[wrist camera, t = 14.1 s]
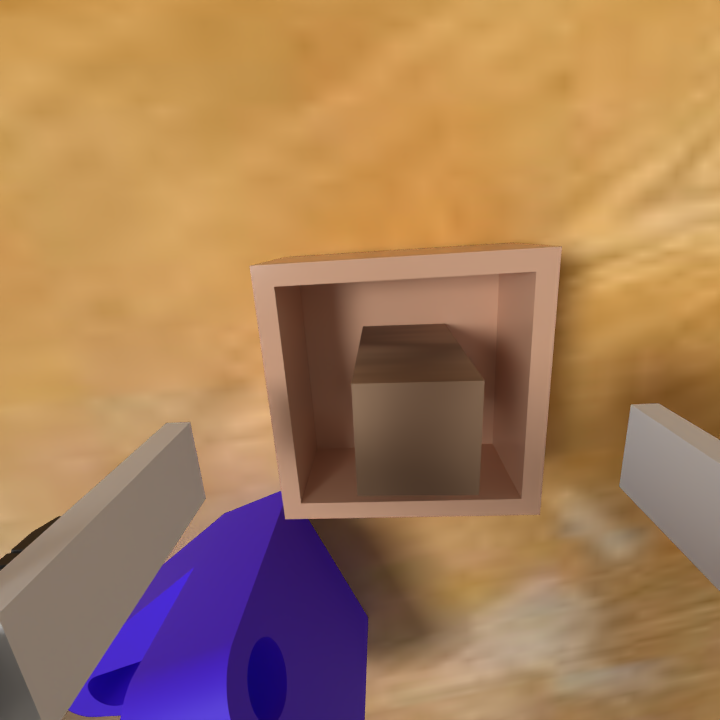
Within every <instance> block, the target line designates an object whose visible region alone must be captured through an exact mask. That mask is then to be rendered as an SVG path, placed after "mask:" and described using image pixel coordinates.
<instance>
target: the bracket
mask: <svg viewBox="0 0 720 720" xmlns="http://www.w3.org/2000/svg"><path fill="white" fill-rule="evenodd" d="M367 638H368V616H367V615H366V613H365V612H364V610H363V608H362V607H361V605H360V603H359V602H358V600H357V598H356V597H355V595H354V593H353V592H352V590H351V589H350V587H349V585H348V584H347V582H346V580H345V579H344V577H343V575H342V574H341V572H340V570H339V569H338V567H337V566H336V564H335V562H334V561H333V559H332V557H331V556H330V554H329V552H328V551H327V549H326V547H325V546H324V544H323V542H322V541H321V539H320V538H319V536H318V534H317V533H316V531H315V529H314V528H313V526H312V524H311V523H310V521H309V519H285V514H284V507H283V500H282V493H281V491H279V492H277V493H274V494H272V495H269V496H267V497H264V498H262V499H259V500H257V501H254V502H252V503H249V504H247V505H244V506H242V507H239V508H237V509H234V510H232V511H229V512H227V513H224V514H223V515H222V516H221V517H220V518H218V519H217V520H216V521H215V522H214V523H212V524H211V525H210V526H209V527H208V528H206V529H205V530H204V531H203V532H202V533H200V534H199V535H198V536H197V537H196V538H194V539H193V540H192V541H191V542H190V543H188V544H187V545H186V546H185V547H184V548H182V549H181V550H180V551H179V552H178V553H177V554H175V555H174V556H173V557H172V558H171V559H169V560H168V561H167V562H166V563H165V564H163V565H162V566H161V568H160V570H159V571H158V573H157V574H156V576H155V577H154V579H153V580H152V582H151V583H150V585H149V586H148V588H147V589H146V591H145V593H144V594H143V596H142V597H141V599H140V600H139V602H138V603H137V605H136V606H135V608H134V609H133V611H132V613H131V614H130V616H129V617H128V619H127V620H126V622H125V623H124V625H123V626H122V628H121V629H120V631H119V632H118V634H117V636H116V637H115V639H114V640H113V642H112V643H111V645H110V646H109V648H108V649H107V651H106V652H105V654H104V656H103V657H102V659H101V660H100V662H99V663H98V665H97V666H96V668H95V669H94V671H93V672H92V674H91V675H90V677H89V679H88V680H87V682H86V683H85V685H84V686H83V688H82V689H81V691H80V692H79V694H78V695H77V697H76V699H75V700H74V702H73V703H72V705H71V706H70V708H69V709H68V710H69V711H71V712H73V713H75V714H78V715H81V716H86V717H101V716H119V715H121V719H120V720H365V694H366V666H367Z"/></svg>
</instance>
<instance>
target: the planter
mask: <svg viewBox="0 0 720 720" xmlns="http://www.w3.org/2000/svg"><path fill="white" fill-rule="evenodd" d="M561 250H562V247H561V246H548V245H535V244H522V243H502V244H486V245H470V246H454V247H438V248H422V249H406V250H390V251H374V252H358V253H342V254H327V255H311V256H295V257H283V258H279V259H275V260H271V261H267V262H263V263H259V264H255V265H251V266H250V272H251V279H252V286H253V293H254V301H255V308H256V315H257V322H258V329H259V336H260V343H261V350H262V358H263V365H264V372H265V379H266V386H267V393H268V400H269V407H270V415H271V422H272V429H273V436H274V443H275V450H276V457H277V464H278V472H279V479H280V486H281V493H282V500H283V507H284V514H285V519H326V518H381V517H436V516H492V515H540V507H541V494H542V482H543V470H544V458H545V445H546V433H547V421H548V409H549V396H550V384H551V372H552V360H553V348H554V335H555V323H556V311H557V299H558V286H559V274H560V262H561ZM415 324H446V326H447V327H448V329H449V330H450V332H451V333H452V334H453V336H454V337H455V339H456V340H457V342H458V343H459V344H460V346H461V347H462V349H463V350H464V352H465V353H466V355H467V356H468V357H469V359H470V360H471V362H472V363H473V365H474V366H475V368H476V369H477V370H478V372H479V373H480V375H481V376H482V378H483V379H484V380H485V383H484V404H483V424H482V445H481V465H480V486H479V495H427V496H357V479H356V462H355V444H354V426H353V408H352V390H351V382H352V377H353V373H354V368H355V363H356V358H357V353H358V348H359V343H360V338H361V333H362V328H363V326H385V325H415Z"/></svg>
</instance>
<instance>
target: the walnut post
mask: <svg viewBox="0 0 720 720" xmlns="http://www.w3.org/2000/svg"><path fill="white" fill-rule="evenodd" d="M484 383H485V380H484V379H483V378H482V376H481V375H480V373H479V372H478V370H477V369H476V368H475V366H474V365H473V363H472V362H471V360H470V359H469V357H468V356H467V355H466V353H465V352H464V350H463V349H462V347H461V346H460V344H459V343H458V342H457V340H456V339H455V337H454V336H453V334H452V333H451V332H450V330H449V329H448V327H447V326H446V324H415V325H385V326H363V328H362V333H361V338H360V343H359V348H358V353H357V358H356V363H355V368H354V373H353V377H352V382H351V390H352V408H353V426H354V444H355V462H356V479H357V496H427V495H479V486H480V465H481V445H482V424H483V404H484Z"/></svg>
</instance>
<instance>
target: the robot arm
mask: <svg viewBox="0 0 720 720" xmlns="http://www.w3.org/2000/svg"><path fill="white" fill-rule="evenodd" d="M619 487H620V488H621V489H622V490H623V491H624V492H625V493H626V494H627V495H628V496H629V497H630V498H631V499H632V500H633V501H634V503H635V504H636V505H637V506H638V507H639V508H640V509H641V510H642V511H643V512H644V513H645V514H646V515H647V516H648V517H649V518H650V519H651V520H652V521H653V522H654V523H655V524H656V525H657V526H658V528H659V529H660V530H661V531H662V532H663V533H664V534H665V535H666V536H667V537H668V538H669V539H670V540H671V541H672V542H673V543H674V544H675V545H676V546H677V547H678V548H679V549H680V550H681V551H682V552H683V554H684V555H685V556H686V557H687V558H688V559H689V560H690V561H691V562H692V563H693V564H694V565H695V566H696V567H697V568H698V569H699V570H700V571H701V572H702V573H703V574H704V575H705V576H706V577H707V579H708V580H709V581H710V582H711V583H712V584H713V585H714V586H715V587H716V588H717V589H718V590H719V591H720V440H719V439H717V438H716V437H714V436H712V435H710V434H709V433H707V432H705V431H704V430H702V429H700V428H699V427H697V426H695V425H694V424H692V423H690V422H689V421H687V420H685V419H684V418H682V417H680V416H679V415H677V414H675V413H674V412H672V411H670V410H669V409H667V408H665V407H664V406H662V405H660V404H659V403H655V404H631V408H630V415H629V422H628V429H627V436H626V443H625V450H624V457H623V464H622V471H621V478H620V485H619ZM205 499H206V497H205V492H204V487H203V482H202V477H201V473H200V468H199V463H198V458H197V453H196V448H195V443H194V438H193V433H192V428H191V423H190V422H180V423H166V424H165V425H163V426H162V427H161V428H160V429H159V430H158V431H157V432H156V433H154V434H153V435H152V436H151V437H150V438H149V439H148V440H147V441H145V442H144V443H143V444H142V445H141V446H140V447H139V448H138V449H136V450H135V451H134V452H133V453H132V454H131V455H130V456H129V457H127V458H126V459H125V460H124V461H123V462H122V463H121V464H120V465H118V466H117V467H116V468H115V469H114V470H113V471H112V472H111V473H109V474H108V475H107V476H106V477H105V478H104V479H103V480H102V481H101V482H99V483H98V484H97V485H96V486H95V487H94V488H93V489H92V490H90V491H89V492H88V493H87V494H86V495H85V496H84V497H83V498H81V499H80V500H79V501H78V502H77V503H76V504H75V505H74V506H72V507H71V508H70V509H69V510H68V511H67V512H66V513H65V514H63V515H62V516H58V517H57V518H55V519H53V520H51V521H50V522H48V523H46V524H45V525H43V526H41V527H40V528H38V529H36V530H35V531H33V532H32V533H30V534H29V535H28V536H27V537H26V538H25V539H24V540H22V541H21V542H20V543H19V544H18V545H17V546H15V547H14V548H13V549H12V550H11V553H10V554H6V555H5V556H4V557H3V558H1V559H0V720H62V718H63V717H64V715H65V714H66V712H67V711H68V709H69V708H70V706H71V705H72V703H73V702H74V700H75V699H76V697H77V695H78V694H79V692H80V691H81V689H82V688H83V686H84V685H85V683H86V682H87V680H88V679H89V677H90V675H91V674H92V672H93V671H94V669H95V668H96V666H97V665H98V663H99V662H100V660H101V659H102V657H103V656H104V654H105V652H106V651H107V649H108V648H109V646H110V645H111V643H112V642H113V640H114V639H115V637H116V636H117V634H118V632H119V631H120V629H121V628H122V626H123V625H124V623H125V622H126V620H127V619H128V617H129V616H130V614H131V613H132V611H133V609H134V608H135V606H136V605H137V603H138V602H139V600H140V599H141V597H142V596H143V594H144V593H145V591H146V589H147V588H148V586H149V585H150V583H151V582H152V580H153V579H154V577H155V576H156V574H157V573H158V571H159V570H160V568H161V566H162V565H163V563H164V562H165V560H166V559H167V557H168V556H169V554H170V553H171V551H172V550H173V548H174V547H175V545H176V543H177V542H178V540H179V539H180V537H181V536H182V534H183V533H184V531H185V530H186V528H187V527H188V525H189V523H190V522H191V520H192V519H193V517H194V516H195V514H196V513H197V511H198V510H199V508H200V507H201V505H202V504H203V502H204V500H205Z"/></svg>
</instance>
